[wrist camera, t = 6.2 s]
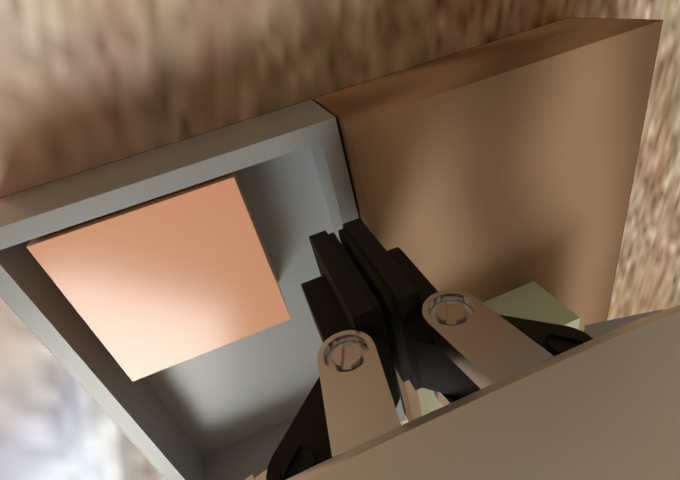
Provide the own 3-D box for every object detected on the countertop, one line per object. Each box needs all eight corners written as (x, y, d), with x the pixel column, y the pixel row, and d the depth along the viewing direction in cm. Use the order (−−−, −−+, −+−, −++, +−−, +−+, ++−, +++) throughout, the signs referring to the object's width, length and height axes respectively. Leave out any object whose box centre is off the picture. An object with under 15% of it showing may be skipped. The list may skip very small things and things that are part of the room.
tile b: (533, 281, 17) (580, 317, 15) (529, 371, 21) (567, 411, 19) (406, 334, 17) (437, 380, 14) (423, 419, 20) (450, 467, 18)
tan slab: (568, 17, 17) (662, 19, 13) (547, 304, 25) (601, 349, 22) (313, 98, 15) (349, 124, 12) (384, 375, 24) (416, 435, 20)
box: (311, 99, 15) (335, 117, 12) (382, 376, 24) (405, 419, 21) (-5, 199, 13) (-49, 243, 11) (196, 457, 22) (197, 514, 20)
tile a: (26, 246, 11) (51, 210, 13) (132, 381, 15) (139, 335, 17) (234, 177, 12) (227, 152, 14) (290, 318, 16) (278, 282, 18)
